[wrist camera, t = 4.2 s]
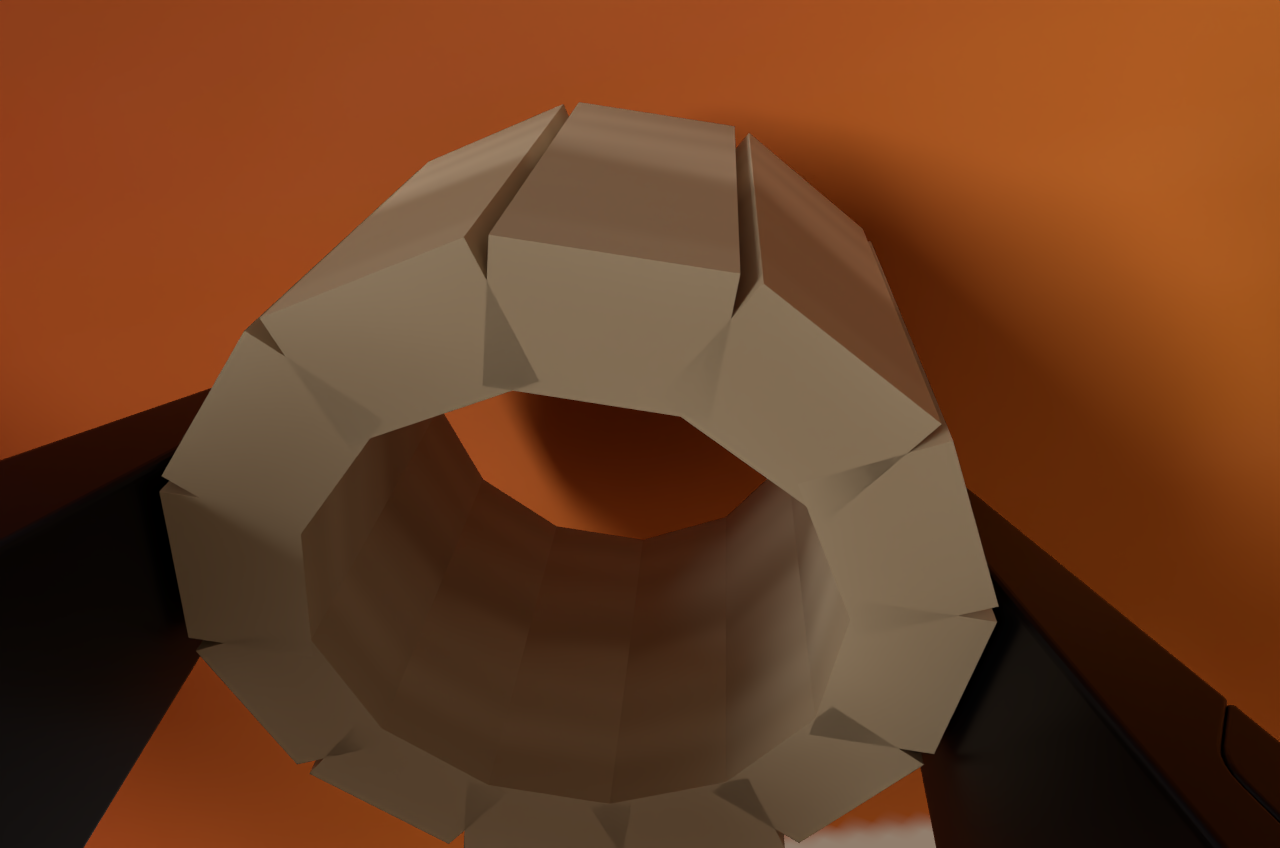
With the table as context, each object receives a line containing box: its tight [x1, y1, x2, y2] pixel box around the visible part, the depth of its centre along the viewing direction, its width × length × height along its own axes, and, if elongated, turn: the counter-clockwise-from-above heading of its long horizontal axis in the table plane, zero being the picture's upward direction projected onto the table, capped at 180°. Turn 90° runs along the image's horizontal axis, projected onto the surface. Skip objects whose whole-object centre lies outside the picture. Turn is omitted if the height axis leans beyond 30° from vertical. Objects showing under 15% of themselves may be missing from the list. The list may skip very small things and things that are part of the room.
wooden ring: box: [159, 102, 999, 848], centre depth 9 cm, size 7×7×4 cm
